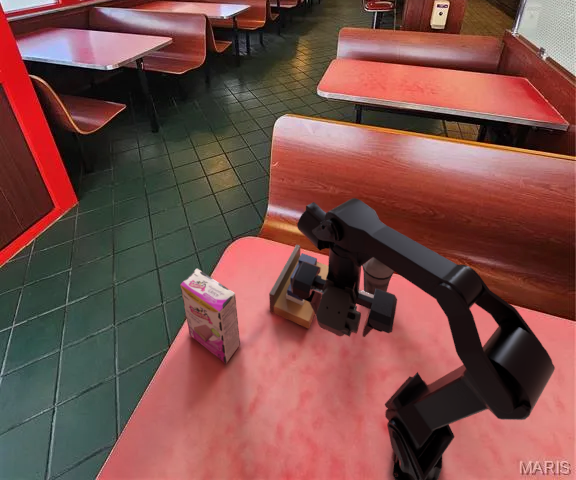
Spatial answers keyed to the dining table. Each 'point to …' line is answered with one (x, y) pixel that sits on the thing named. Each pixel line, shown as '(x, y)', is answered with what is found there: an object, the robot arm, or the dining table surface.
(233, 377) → the dining table surface
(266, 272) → the dining table surface
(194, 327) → the candy bar box
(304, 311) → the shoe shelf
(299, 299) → the navy stepped block
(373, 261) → the beverage cup
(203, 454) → the dining table surface
